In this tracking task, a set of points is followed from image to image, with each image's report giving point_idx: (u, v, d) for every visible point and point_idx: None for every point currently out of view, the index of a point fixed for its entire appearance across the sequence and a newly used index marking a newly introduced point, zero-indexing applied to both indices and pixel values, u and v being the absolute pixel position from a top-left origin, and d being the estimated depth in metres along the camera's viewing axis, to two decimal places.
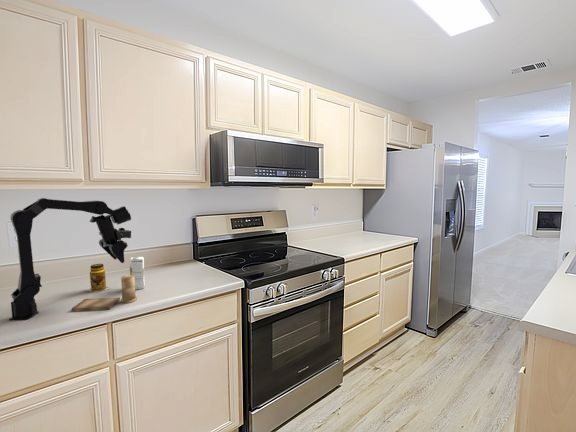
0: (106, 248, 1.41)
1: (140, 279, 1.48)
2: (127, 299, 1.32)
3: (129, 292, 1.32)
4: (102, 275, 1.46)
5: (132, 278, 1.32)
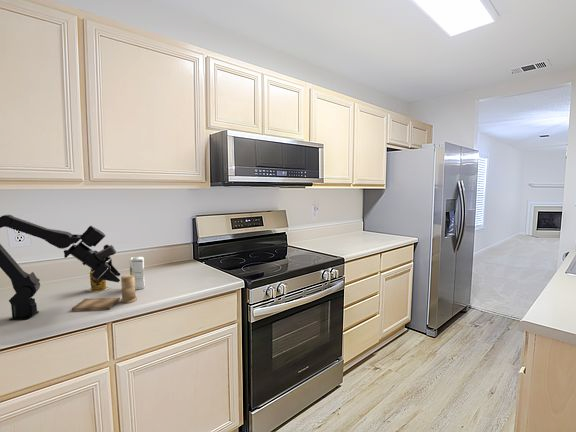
0: None
1: (140, 279, 1.48)
2: (127, 299, 1.32)
3: (129, 292, 1.32)
4: None
5: (132, 278, 1.32)
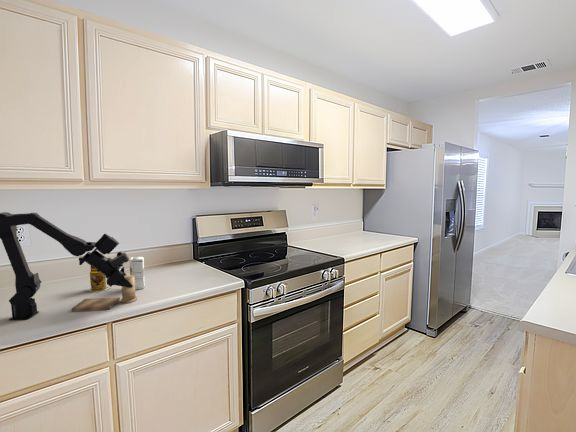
0: None
1: (140, 279, 1.48)
2: (127, 299, 1.32)
3: (129, 292, 1.32)
4: (102, 275, 1.46)
5: (132, 278, 1.32)
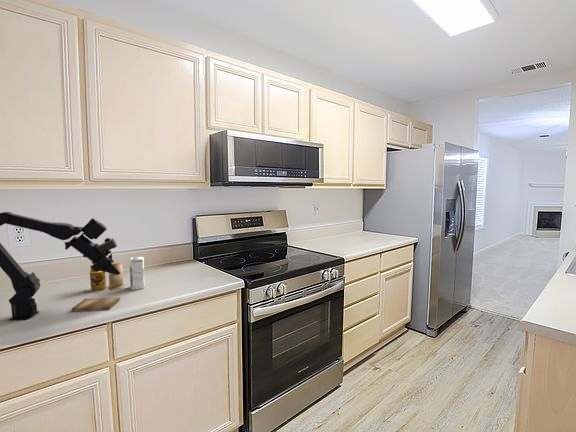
0: None
1: (140, 279, 1.48)
2: (114, 286, 1.29)
3: (117, 279, 1.29)
4: (102, 275, 1.46)
5: (120, 265, 1.30)
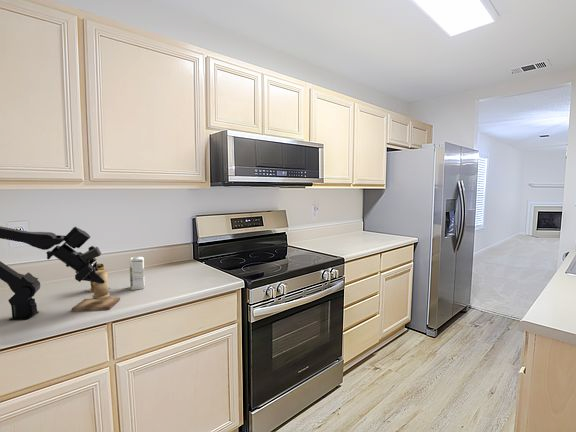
0: None
1: (140, 279, 1.48)
2: (99, 295, 1.26)
3: (101, 288, 1.26)
4: None
5: (104, 273, 1.27)
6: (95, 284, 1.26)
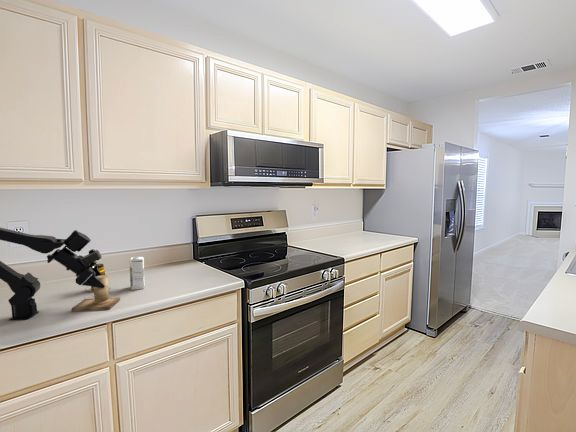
0: None
1: (140, 279, 1.48)
2: (99, 301, 1.26)
3: (102, 293, 1.27)
4: None
5: (105, 279, 1.27)
6: (95, 290, 1.26)
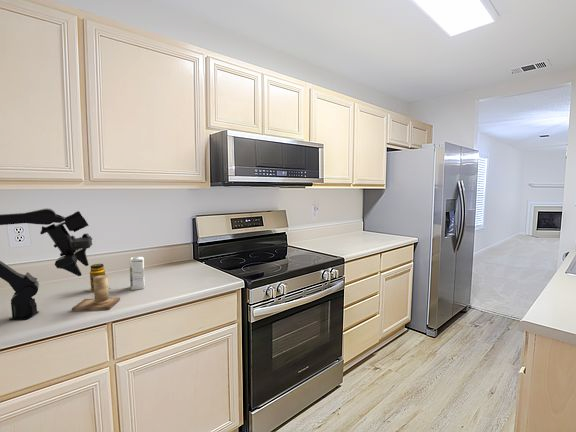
0: (75, 254, 1.31)
1: (140, 279, 1.48)
2: (99, 300, 1.27)
3: (102, 293, 1.27)
4: None
5: (105, 279, 1.27)
6: (96, 289, 1.26)
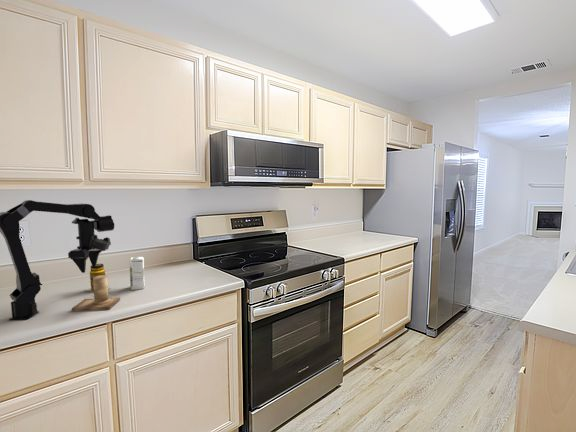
0: (89, 252, 1.39)
1: (140, 279, 1.48)
2: (99, 301, 1.26)
3: (102, 293, 1.27)
4: None
5: (104, 279, 1.27)
6: (95, 290, 1.26)
